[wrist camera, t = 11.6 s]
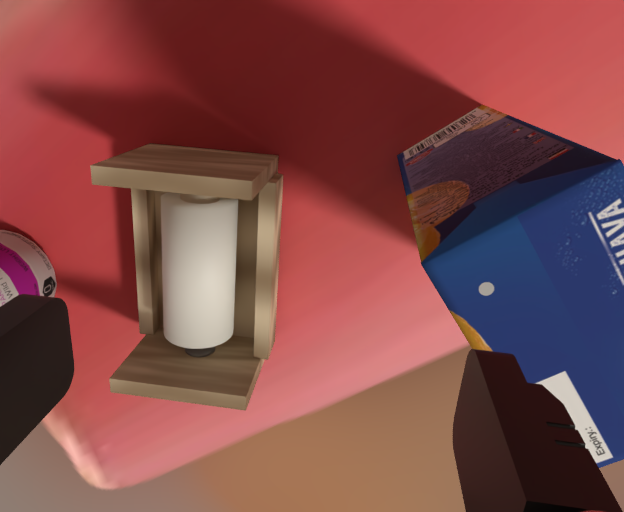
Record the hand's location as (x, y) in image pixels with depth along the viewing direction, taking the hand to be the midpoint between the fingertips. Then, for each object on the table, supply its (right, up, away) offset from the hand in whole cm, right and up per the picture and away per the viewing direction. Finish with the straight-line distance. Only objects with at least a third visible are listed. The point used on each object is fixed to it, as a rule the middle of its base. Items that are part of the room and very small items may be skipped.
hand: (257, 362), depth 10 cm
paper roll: (-7, +2, +31) cm, 32 cm away
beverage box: (+13, +7, +28) cm, 32 cm away
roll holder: (-7, +3, +32) cm, 33 cm away
